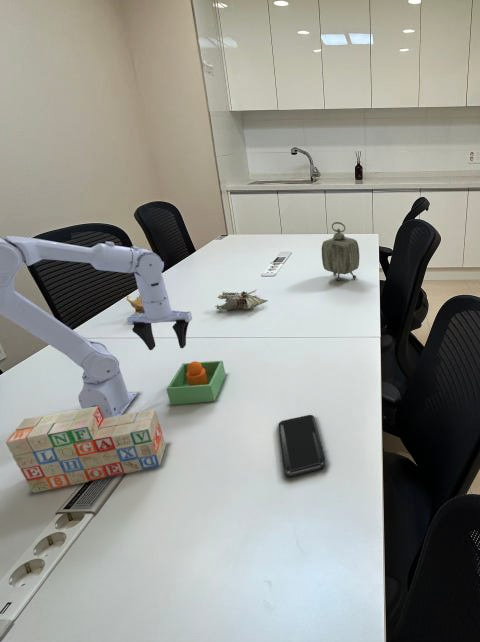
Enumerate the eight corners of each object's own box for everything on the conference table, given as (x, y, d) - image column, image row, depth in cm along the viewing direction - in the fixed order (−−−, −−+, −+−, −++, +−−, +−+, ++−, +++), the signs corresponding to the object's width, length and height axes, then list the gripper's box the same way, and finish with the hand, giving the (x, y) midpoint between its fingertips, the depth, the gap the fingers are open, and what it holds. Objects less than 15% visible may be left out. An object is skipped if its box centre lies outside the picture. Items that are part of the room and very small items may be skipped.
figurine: (235, 283, 153) (274, 286, 150) (237, 297, 155) (276, 300, 152) (205, 300, 135) (249, 303, 132) (207, 316, 137) (251, 319, 134)
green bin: (214, 401, 93) (210, 385, 91) (170, 404, 92) (166, 389, 91) (225, 375, 103) (222, 360, 102) (186, 378, 103) (182, 363, 101)
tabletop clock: (360, 278, 170) (358, 221, 160) (348, 284, 163) (345, 226, 153) (334, 273, 178) (330, 218, 167) (321, 279, 171) (317, 222, 160)
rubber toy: (205, 391, 96) (199, 366, 93) (187, 393, 96) (180, 368, 93) (210, 381, 100) (205, 357, 97) (193, 382, 100) (187, 358, 97)
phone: (284, 474, 71) (278, 421, 84) (285, 478, 72) (278, 425, 85) (326, 463, 73) (314, 413, 86) (327, 468, 74) (314, 417, 87)
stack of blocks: (166, 444, 80) (152, 396, 75) (160, 467, 75) (143, 416, 70) (47, 467, 75) (23, 417, 70) (31, 494, 70) (3, 441, 65)
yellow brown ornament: (160, 317, 138) (154, 295, 135) (128, 322, 135) (122, 300, 132) (162, 304, 148) (157, 284, 145) (133, 309, 145) (127, 288, 142)
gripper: (191, 290, 98) (201, 338, 103) (131, 293, 97) (145, 341, 102) (181, 301, 91) (193, 351, 97) (117, 305, 90) (132, 355, 96)
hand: (167, 347), depth 99 cm, fingers open, 7 cm apart
